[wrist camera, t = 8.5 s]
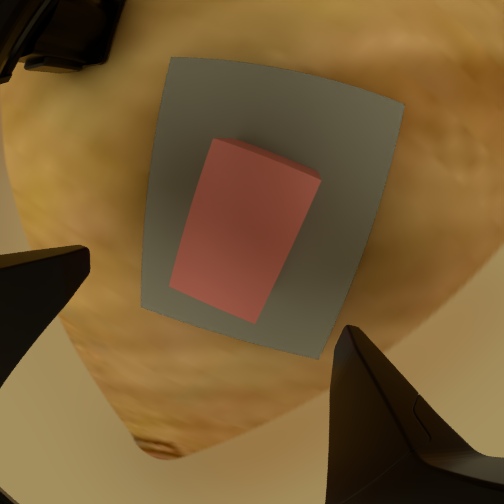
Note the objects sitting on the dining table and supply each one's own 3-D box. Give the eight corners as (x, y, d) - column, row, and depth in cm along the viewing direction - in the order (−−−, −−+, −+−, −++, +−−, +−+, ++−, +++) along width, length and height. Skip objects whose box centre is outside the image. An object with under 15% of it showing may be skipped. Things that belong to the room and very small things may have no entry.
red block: (194, 258, 19) (168, 286, 15) (234, 138, 16) (213, 137, 12) (265, 288, 19) (255, 324, 15) (317, 171, 16) (321, 180, 12)
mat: (176, 59, 15) (171, 56, 14) (400, 105, 14) (404, 104, 13) (145, 302, 22) (141, 307, 21) (318, 352, 21) (318, 359, 20)
